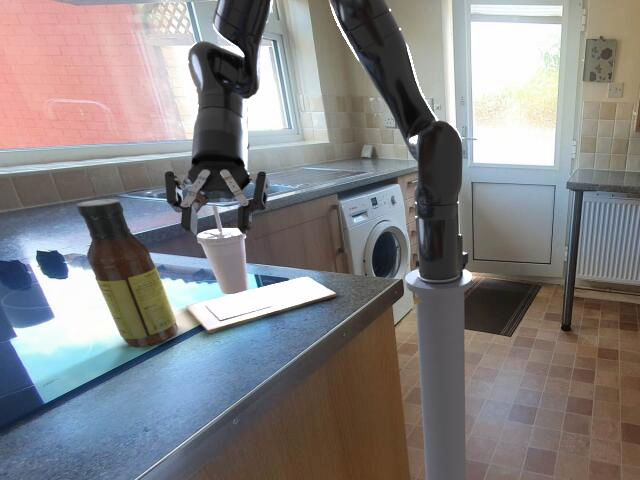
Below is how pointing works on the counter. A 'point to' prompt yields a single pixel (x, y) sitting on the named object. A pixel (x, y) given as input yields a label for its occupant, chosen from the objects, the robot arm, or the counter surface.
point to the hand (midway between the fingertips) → (217, 231)
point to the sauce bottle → (127, 276)
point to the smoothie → (226, 256)
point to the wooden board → (258, 303)
